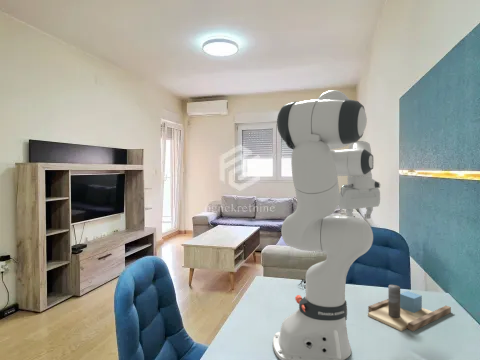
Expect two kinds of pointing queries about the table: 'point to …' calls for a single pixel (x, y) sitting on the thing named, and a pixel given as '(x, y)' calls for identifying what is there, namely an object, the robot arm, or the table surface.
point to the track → (420, 321)
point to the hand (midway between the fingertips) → (359, 219)
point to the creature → (303, 281)
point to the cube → (411, 301)
